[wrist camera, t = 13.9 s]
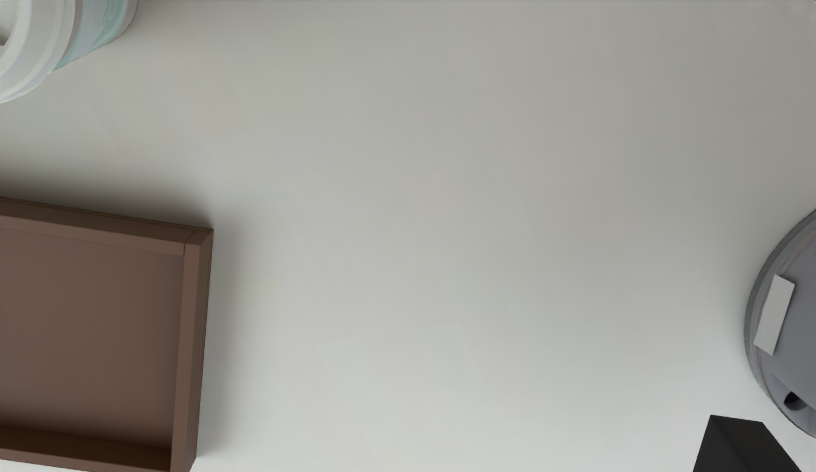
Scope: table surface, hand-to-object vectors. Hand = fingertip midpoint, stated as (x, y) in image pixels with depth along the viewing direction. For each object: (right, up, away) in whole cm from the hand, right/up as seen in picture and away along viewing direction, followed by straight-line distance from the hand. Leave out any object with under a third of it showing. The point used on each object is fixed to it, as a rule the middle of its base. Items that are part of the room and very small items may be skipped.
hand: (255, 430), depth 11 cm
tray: (-17, -2, +30) cm, 35 cm away
